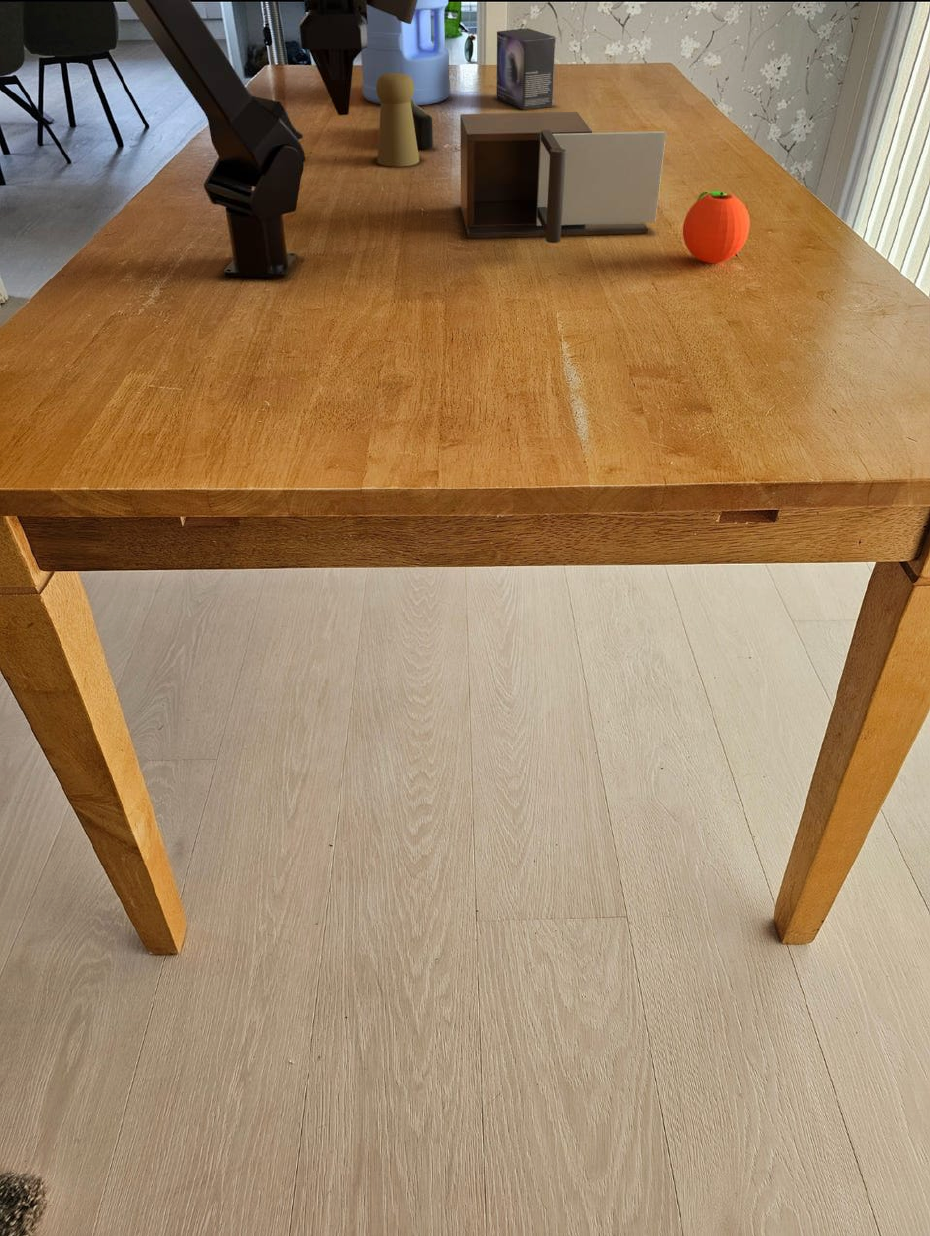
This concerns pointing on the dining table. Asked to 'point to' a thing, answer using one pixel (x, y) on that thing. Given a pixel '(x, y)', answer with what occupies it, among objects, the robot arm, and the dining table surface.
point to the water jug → (408, 52)
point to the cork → (396, 121)
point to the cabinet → (513, 174)
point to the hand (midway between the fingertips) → (343, 114)
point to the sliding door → (598, 179)
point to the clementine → (716, 227)
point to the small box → (525, 68)
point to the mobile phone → (422, 127)
